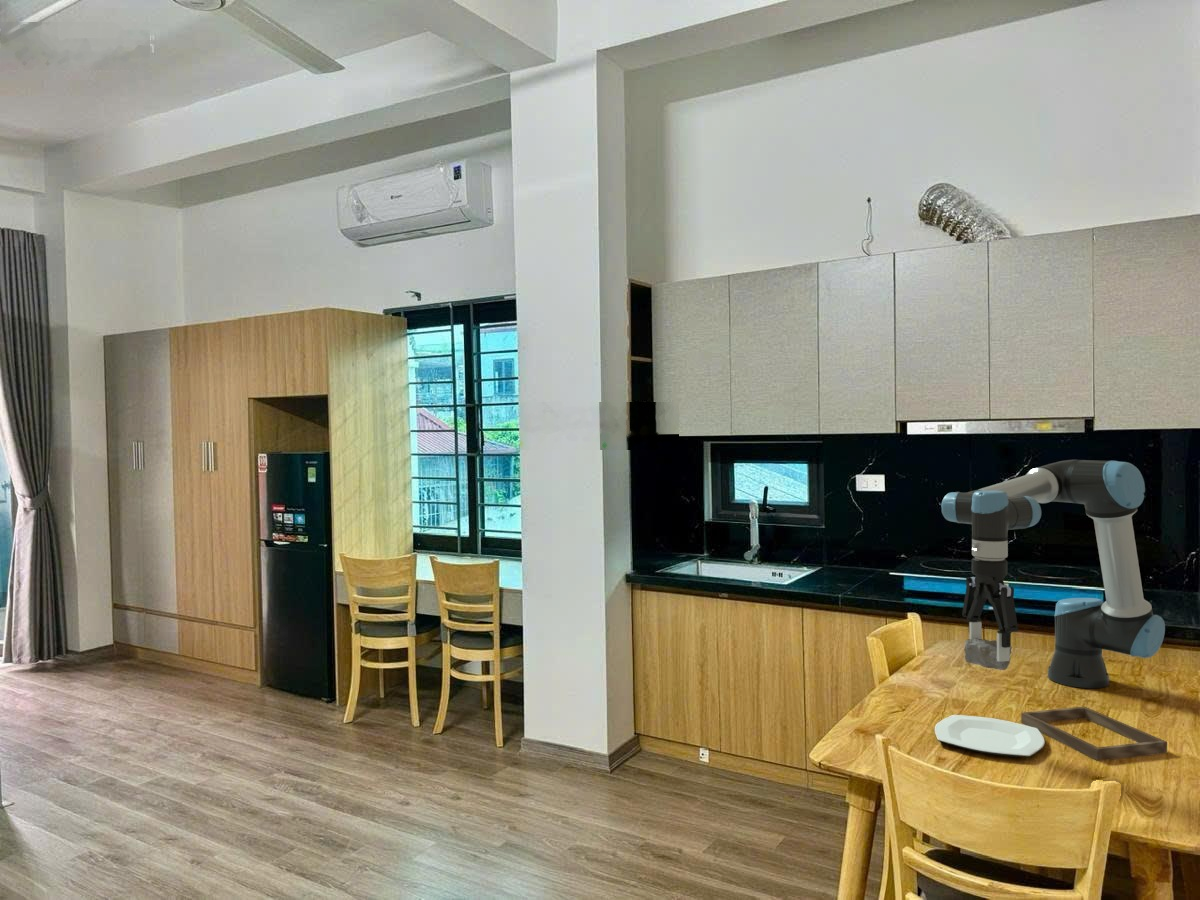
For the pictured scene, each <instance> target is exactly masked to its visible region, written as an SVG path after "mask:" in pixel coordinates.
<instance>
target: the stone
mask: <svg viewBox="0 0 1200 900" xmlns="http://www.w3.org/2000/svg"><path fill="white" fill-rule="evenodd" d="M1012 649H1013V647H1012V646H1010V655H1011V654H1012ZM963 650H964V653H965V654H964V660H965V663H968V664H974V665H978V666H981V667H983V668H986V669H995V670H999V671H1005V670H1007V669H1008V668H1009V665H1010V663H1011V660H1010V661H1001V662H999V661H997V640H994V639H993V640H989V639H986V638H985V639H984V638H982V639H978V638H975V639H969V638H968V639H966V640H965V643H964V649H963Z"/></svg>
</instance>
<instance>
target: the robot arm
mask: <svg viewBox="0 0 1200 900" xmlns="http://www.w3.org/2000/svg"><path fill="white" fill-rule="evenodd" d="M1145 486H1146V485H1145V480H1144V477H1143V475H1142V473H1141V471H1140V470H1139V468H1137V466H1135V465H1134V464H1132V463H1130V462H1127V461H1118V460H1089V459H1087V460H1086V459H1067V460H1060V461H1056V462H1052V463H1048V464H1045V465H1042V466H1037V467H1035V468H1032V469H1030V470H1028V472H1027V473H1026V474H1025V475H1022V476H1017V477H1015V478H1012V479H1008V480H1006V481H1002V482H999V483H998V482H997V483H996V484H992V485H989V486H985V487H982V488H979V489H975V490H971V491H968V492H960V491H955V492H953V491H952V492H948V493H947V494H946V495H944V497H943V499H942V501H941V514H942V516H943V517H944V519H945V520H946V521H949V522H953V523H957V524H967V525H971V555H972V556H973V557H972V559H971V573H972V575H974V576H967V577H966V578H965V583H966V587H965V595H964V600H963V605H962V606H963V607H962V613H961V615H962V617H964V618H966V620H967V621H968V634H969V636H968V639H975V638H978V639H983V637H982V633H983V632H982V628H983V626H982V618H981V616H982V612H983V611H984V610H983V609H984V608H985V605H986V602H987V600H988V603H989V605H991V607H992V610H993V612H994V617H995V620H996V623H997V626H998V629H999V630H997V631H996V641H997V661H999V662H1001V661H1010V662H1011V654H1010V646H1011V644H1012V641H1011V640H1012V639H1011V638H1012V633H1016V632H1019V626H1018V620H1017V619H1018V618H1017V612H1016V605H1015V599H1014V596H1015V595H1014V594H1015V587H1013V586H1007V585H1005V583H1004V578H1005V577H1006V576H1008V561H1007V559H1006V558H1008V556H1009V553H1008V552H1009V548H1008V547H1009V545H1008V544H1009V543H1008V542H1009V541H1008V532H1009V530H1012V531H1013V530H1020V529H1021V530H1024V529H1028V528H1031V527H1033V526H1035V525H1037V524H1038V523H1039V522H1040V519H1041V517H1042V508H1041V505H1040V504H1048V503H1050V502H1053V503H1054V502H1058V503H1070V504H1071V503H1072V504H1079V505H1084V508H1085V514H1086V516H1088V518H1091V519H1092V520H1093V525H1094V530H1095V537H1096V543H1097V549H1098V551H1097V552H1098V555H1099V562H1100V569H1101V575H1102V576H1101V577H1102V582H1103V588H1104V594H1105V601H1104V602H1103V599H1101V598H1096V597H1071V598H1063V599H1060V600H1058V601H1057V602H1056V603H1055V611H1054V653H1053V654H1052V655H1053V656H1052V658H1051V662H1050V664H1049V666H1048V669H1047V678H1048V679H1049V680H1050V681H1052V682H1055V683H1058V684H1061V685H1063V686H1069V687H1072V688H1073V687H1074V688H1082V689H1099V688H1105V687H1108V686H1109V685H1110V675H1109V673H1108V669H1107V667H1106V664H1105V659H1104V658H1103V650H1104V651H1109V652H1114V653H1119V654H1122V655H1127V656H1130V657H1134V658H1135V657H1139V658H1144V659H1149V658H1151V657H1153V656H1154V655H1156V654H1157V653H1158V651H1159V650H1160V648H1161V646H1162V644H1163V641H1164V637H1165V633H1166V625H1165V620H1164V619H1163V617H1162V616H1160V615H1158V614H1153V613H1154V612H1153V608H1152V604H1151V602H1149V601H1148V600H1146V599H1145V598H1144V592H1143V586H1142V578H1141V572H1140V566H1139V557H1138V552H1137V545H1136V539H1135V530H1134V525H1133V515H1134V514H1136V513H1137V512H1138V508H1139V507H1140V506H1141V505H1142V504H1143V501H1144V498H1145V495H1144V494H1145V492H1146V487H1145ZM1011 647H1012V646H1011Z"/></svg>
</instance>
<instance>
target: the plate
mask: <svg viewBox="0 0 1200 900" xmlns="http://www.w3.org/2000/svg"><path fill="white" fill-rule="evenodd" d="M934 733H935V736H936V738H937V740H938V742H942V743H945V744H948V745H951V746H954V747H957V748H961V749H963V750H968V751H972V752H978V753H983V754H989V755H996V756H1004V757H1015V758H1020V757H1032V756H1033V755H1035V754H1037V753H1039V752H1040V750H1042V749H1043V747H1044V746H1045V743H1046V742H1045V738H1044V736H1043V733H1041V732H1040V731H1039V730H1038V729H1037V728H1034V727H1030V726H1027V725H1025V724H1023V723H1017V722H1013V721H1008V720H1005V719H1004V720H1003V719H1000V718H999V719H998V718H995V717H994V718H992V717H987V716H986V717H985V716H975V715H964V714H952V715H950V716H947V717H945V718H943V719H941V720H939V721H938V722H937V723H936V725H935V726H934Z"/></svg>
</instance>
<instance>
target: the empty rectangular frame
mask: <svg viewBox="0 0 1200 900" xmlns="http://www.w3.org/2000/svg"><path fill="white" fill-rule="evenodd" d="M1020 719H1021V720H1020V721H1021V722H1020V724H1022V725H1026V726H1030V727H1034V728H1037V729H1038V730H1039V731H1040V733H1041V734H1042V735H1045V736H1047V737H1049V738H1050V739H1053V740H1054V741H1057V742H1059V743H1061V744H1063V745H1064V746H1067V747H1069V748H1071V749H1073V750H1075V751H1077V752H1078V753H1081V754H1083V755H1085V756H1087V757H1088V758H1091V759H1093V760H1095V761H1097V762H1101V761H1109V760H1116V759H1125V758H1127V759H1128V758H1135V757H1143V756H1154V755H1161V754H1162V755H1163V754H1167V753H1168V741H1165V740H1164V739H1162V738H1159V737H1156V736H1155V735H1152V734H1150V733H1148V732H1145V731H1142V730H1141V729H1138V728H1136V727H1133V726H1131V725H1129V724H1126V723H1124V722H1122V721H1120V720H1117V719H1114V718H1112V717H1109V716H1108V715H1106V714H1103V713H1100V712H1098V711H1096V710H1094V709H1091V708H1089V707H1087V706H1077V707H1065V708H1056V709H1046V710H1036V711H1034V710H1033V711H1025V712H1021V714H1020ZM1079 719H1080V720H1081V719H1085V720H1087V721H1089V722H1092V723H1094V724H1096V725H1099V726H1101V727H1103V728H1105V729H1108V730H1110V731H1113V733H1116V734H1119V735H1121V736H1123V737H1125V738H1128V739H1130V740H1131V741H1135V742H1134V743H1125V744H1119V745H1118V744H1116V745H1107V746H1096V745H1094V744H1091V743H1090V742H1088V741H1086V740H1083V739H1082V738H1080V737H1078V736H1075V735H1073V734H1071V733H1070V732H1067V731H1064V730H1062V729H1061V728H1059V727H1056V726H1055V725H1052V724H1051V723H1050V722H1049V721H1051V722H1059V721H1060V722H1061V721H1069V720H1071V721H1072V720H1079Z"/></svg>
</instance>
